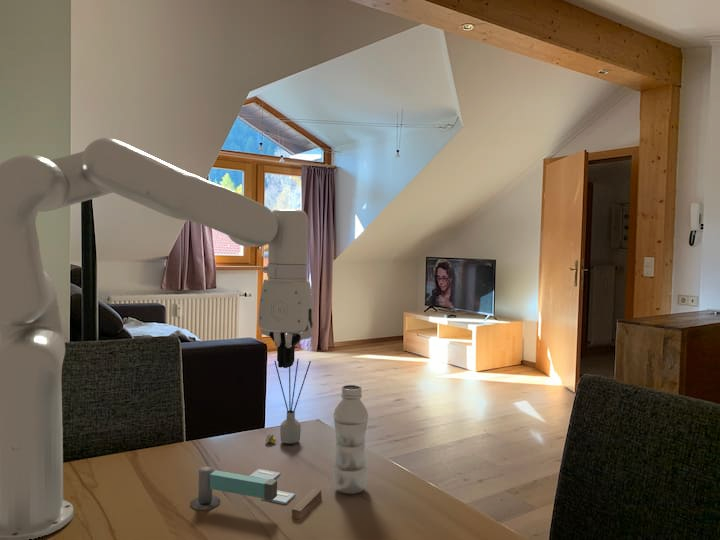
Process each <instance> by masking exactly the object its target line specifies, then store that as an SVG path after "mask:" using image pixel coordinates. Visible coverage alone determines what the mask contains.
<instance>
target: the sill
mask: <svg viewBox="0 0 720 540" xmlns="http://www.w3.org/2000/svg"><path fill="white" fill-rule="evenodd" d="M321 499H322V489H318V488H312V489H311V490H310V491H309V492H308V493H307V494H306V495H305V496H304V497H303V498H302V499H301V500H300V501H299V502H297V504H296V505H295V506H293V508H292V509H291V518H292V519H296V520H301V519H303V517H305V515H306V514H307V513H308V512H309V511H311V509H313V507H315V505H316V504H317V503H318V502H319V501H320V500H321Z"/></svg>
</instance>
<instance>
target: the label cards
mask: <svg viewBox="0 0 720 540" xmlns="http://www.w3.org/2000/svg"><path fill="white" fill-rule="evenodd" d="M249 476H252V477H257V478H263V479H274V480H277V478H278V477H280V476H281V472H278V471H271V470H268V469H262V468H258V469H256V470H255V471H253V473H251V474H250V475H249ZM295 496H296V493H293V492H288V491H282V490H279V489H277V496H276V497H275V498H274V499H273V500H272V501H269V500H266V501H267V502H272V503H277V504H282V505H287V504H288V503H289V502H290V501H291V500H292V499H294V498H295ZM261 500H263V501H265V500H264V499H263V498H261Z"/></svg>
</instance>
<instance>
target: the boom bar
mask: <svg viewBox="0 0 720 540" xmlns="http://www.w3.org/2000/svg"><path fill="white" fill-rule="evenodd" d="M213 470H214V469H213V467H212V466H202V467H200V468H199V469H198V492H197V493H198V496H197V497H198V501H199V503H202V504H205V503H209V502H211V501H212V496H213V490H215V491H220V492H225V493H232V494H237V495H242V496H249V497H254V498H258V499H262V498H263V499H264V500H263V501H267V500H269V501H268V502H271V501H272V500H273V499H274V498H275V497H276V496H277V490H278V479H263V478H257V477H252V476H250V475H245V474H239V473H233V472H229V471H228V472H227V471H221V470H216V469H215V470H214V471H213Z"/></svg>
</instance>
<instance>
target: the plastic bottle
mask: <svg viewBox="0 0 720 540" xmlns="http://www.w3.org/2000/svg"><path fill="white" fill-rule="evenodd" d="M340 397H341V400H340V402H339V403H338V404H337V406H336V408H335V409H334V411H333V423H334V428H335V429H334V431H335V441H336V442H335V443H336V444H335V446H336V449H335V450H336V451H335V461H334V467H333V470H332V481H333V486H334V488H335V489H336V490H337V491H338V492H339V493H343V494H348V495H353V494H359V493H361V492H364V490H365V488H366V487H367V483H368V478H369V477H368V469H367V465H366V453H365V452H366V451H365V446H366V444H365V443H366V433H367V427H368V419H369V413H368V410H367V408H366V407H365V405H364V402H362V400H361V399H362V397H363V394H362V386H360V385H357V384H346V385H343V386H342V387H341V393H340Z"/></svg>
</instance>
